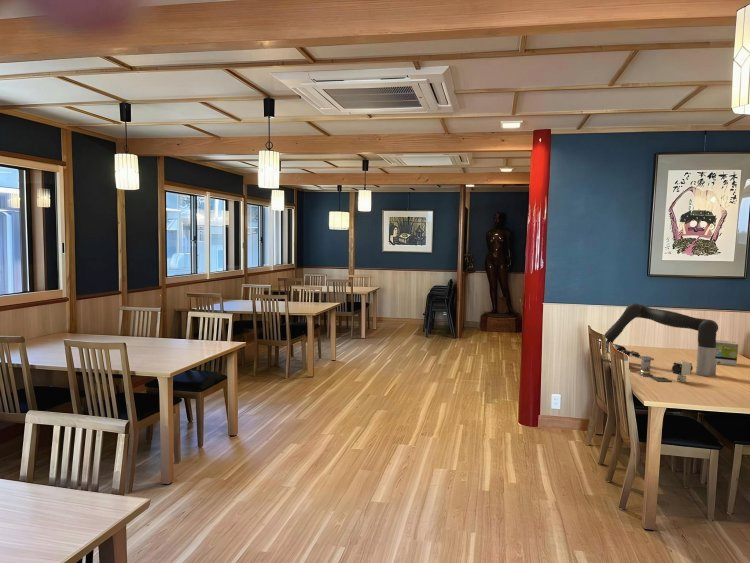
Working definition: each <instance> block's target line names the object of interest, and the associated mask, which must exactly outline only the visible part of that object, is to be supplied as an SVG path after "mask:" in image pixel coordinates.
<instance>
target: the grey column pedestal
mask: <svg viewBox="0 0 750 563" xmlns="http://www.w3.org/2000/svg"><path fill="white" fill-rule="evenodd" d="M638 359H641V365H640V370H639V371H638V372H637V375H638V374H639V376H640V377H642V376H643V377H644V378H645V377H646V378H650V377H654V375H653V374H652V371H651V362H652V361H655V358H654V357H651V356H648V355H640V356H639V358H638ZM643 377H642V378H643Z"/></svg>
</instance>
